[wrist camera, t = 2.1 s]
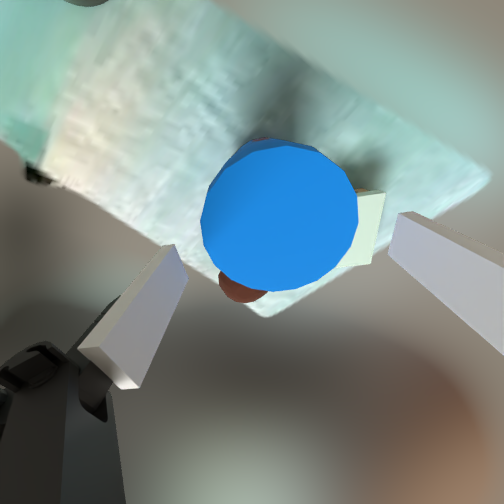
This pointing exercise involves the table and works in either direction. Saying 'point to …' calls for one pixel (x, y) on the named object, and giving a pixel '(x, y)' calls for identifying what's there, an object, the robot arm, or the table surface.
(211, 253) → the thermos
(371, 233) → the footstool
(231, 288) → the muffin
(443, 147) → the table surface
